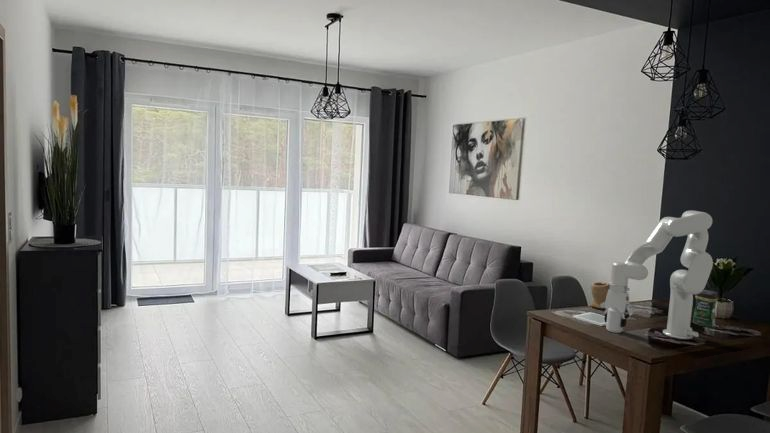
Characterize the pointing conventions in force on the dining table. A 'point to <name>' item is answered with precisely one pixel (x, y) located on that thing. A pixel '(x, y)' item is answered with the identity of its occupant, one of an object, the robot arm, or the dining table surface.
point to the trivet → (592, 318)
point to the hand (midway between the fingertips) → (614, 324)
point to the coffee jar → (705, 308)
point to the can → (614, 320)
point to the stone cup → (599, 293)
